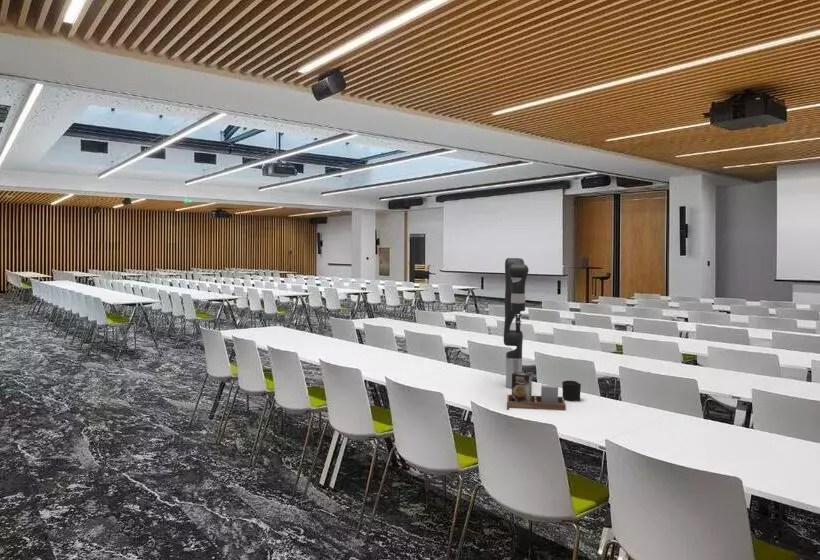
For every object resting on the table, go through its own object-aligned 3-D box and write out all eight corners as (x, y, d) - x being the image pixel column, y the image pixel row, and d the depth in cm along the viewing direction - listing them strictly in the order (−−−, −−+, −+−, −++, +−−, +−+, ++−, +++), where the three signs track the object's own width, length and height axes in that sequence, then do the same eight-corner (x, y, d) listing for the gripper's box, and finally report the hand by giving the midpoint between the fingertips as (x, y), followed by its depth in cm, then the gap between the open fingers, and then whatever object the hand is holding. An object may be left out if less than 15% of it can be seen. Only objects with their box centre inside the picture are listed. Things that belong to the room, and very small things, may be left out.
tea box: (541, 404, 298) (541, 384, 298) (557, 404, 297) (557, 385, 296) (541, 406, 293) (541, 387, 293) (557, 407, 292) (558, 387, 291)
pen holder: (560, 402, 306) (560, 383, 305) (564, 398, 314) (564, 379, 313) (578, 404, 301) (578, 385, 301) (582, 400, 309) (582, 381, 309)
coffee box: (511, 405, 296) (511, 373, 296) (514, 402, 302) (514, 371, 301) (528, 407, 292) (529, 375, 292) (532, 404, 298) (532, 372, 297)
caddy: (507, 402, 306) (507, 394, 306) (563, 404, 301) (563, 396, 301) (507, 409, 292) (507, 401, 291) (565, 412, 286) (565, 404, 286)
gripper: (511, 300, 318) (510, 330, 318) (510, 303, 304) (510, 333, 304) (525, 300, 316) (524, 330, 317) (525, 303, 302) (525, 334, 303)
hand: (517, 332), depth 311 cm, fingers open, 8 cm apart
